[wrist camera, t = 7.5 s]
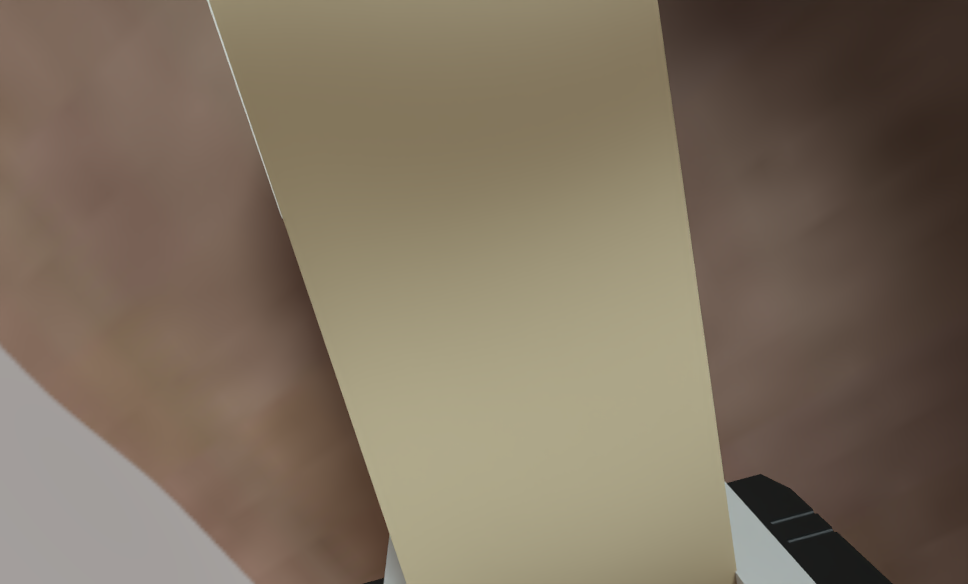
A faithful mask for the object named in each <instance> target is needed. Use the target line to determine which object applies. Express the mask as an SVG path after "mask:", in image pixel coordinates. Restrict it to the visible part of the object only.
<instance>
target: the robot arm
mask: <svg viewBox="0 0 968 584" xmlns="http://www.w3.org/2000/svg"><path fill="white" fill-rule="evenodd" d="M724 482H725V481H724ZM725 489H726V497H727V504H728V511H729V518H730V525H731V533H732V540H733V547H734V554H735V561H736V569H737V571H736V572H735V573H736V581H737V584H892V583H891V582H890V581H889V580H888V579H887V578H886V577H885V576H884V575H883V574H881V573H880V572H879V571H878V570H877V569H876V568H875V567H874V566H873V565H872V564H871V563H870V562H869V561H868V560H866V559H865V558H864V557H863V556H862V555H861V554H860V553H859V552H858V551H857V550H856V549H855V548H854V547H853V546H851V545H850V544H849V543H848V542H847V541H846V540H845V539H844V538H843V537H842V536H841V535H840V534H839V533H837V532H834V531H833V530H832V527H831V526H830V525H829V524H828V523H827V522H826V521H825V520H824V519H822V518H821V517H820V516H819V515H818V514H815V513H814V512H813V509H812V508H811V507H810V506H809V505H807V504H806V503H805V502H804V501H803V500H802V499H801V498H800V497H799V496H798V495H797V494H796V493H795V492H794V491H792V490H791V489H790V488H788V487H786V486H784V485H782V484H780V483H778V482H776V481H774V480H772V479H770V478H768V477H766V476H763V475H761V474H759V475H756V476H752V477H748V478H744V479H741V480H737V481H733V482H730V483H726V482H725ZM364 584H406V581H405V578H404V575H403V572H402V569H401V566H400V563H399V560H398V557H397V554H396V551H395V548H394V545H393V542H392V540H391V537H390V535H389V543H388V552H387V560H386V569H385V577H384V578H382V579H379V580H375V581H371V582H368V583H364Z"/></svg>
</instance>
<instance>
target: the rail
mask: <svg viewBox="0 0 968 584" xmlns="http://www.w3.org/2000/svg"><path fill="white" fill-rule="evenodd" d="M209 2H210V5H211V8H212V11H213V14H214V17H215V20H216V23H217V26H218V29H219V31H220V34H221V37H222V40H223V43H224V46H225V49H226V52H227V55H228V58H229V61H230V64H231V67H232V70H233V73H234V76H235V79H236V82H237V85H238V88H239V91H240V93H241V96H242V99H243V102H244V105H245V108H246V111H247V114H248V117H249V120H250V123H251V126H252V129H253V132H254V135H255V138H256V141H257V144H258V147H259V150H260V153H261V156H262V158H263V161H264V164H265V167H266V170H267V173H268V176H269V179H270V182H271V185H272V188H273V191H274V194H275V197H276V200H277V203H278V206H279V209H280V212H281V215H282V218H283V221H284V223H285V226H286V229H287V232H288V235H289V238H290V241H291V244H292V247H293V250H294V253H295V256H296V259H297V262H298V265H299V268H300V271H301V274H302V277H303V280H304V283H305V285H306V288H307V291H308V294H309V297H310V300H311V303H312V306H313V309H314V312H315V315H316V318H317V321H318V324H319V327H320V330H321V333H322V336H323V339H324V342H325V345H326V348H327V350H328V353H329V356H330V359H331V362H332V365H333V368H334V371H335V374H336V377H337V380H338V383H339V386H340V389H341V392H342V395H343V398H344V401H345V404H346V407H347V410H348V413H349V415H350V418H351V421H352V424H353V427H354V430H355V433H356V436H357V439H358V442H359V445H360V448H361V451H362V454H363V457H364V460H365V463H366V466H367V469H368V472H369V475H370V477H371V480H372V483H373V486H374V489H375V492H376V495H377V498H378V501H379V504H380V507H381V510H382V513H383V516H384V519H385V522H386V525H387V528H388V531H389V534H390V537H391V540H392V542H393V545H394V548H395V551H396V554H397V557H398V560H399V563H400V566H401V569H402V572H403V575H404V578H405V581H406V584H737V581H736V573H735V572H736V571H737V569H736V561H735V554H734V547H733V540H732V533H731V525H730V518H729V511H728V504H727V497H726V489H725V482H724V475H723V468H722V461H721V453H720V446H719V439H718V432H717V425H716V417H715V410H714V403H713V396H712V389H711V381H710V374H709V367H708V360H707V353H706V345H705V338H704V331H703V324H702V317H701V309H700V302H699V295H698V288H697V281H696V273H695V266H694V259H693V252H692V245H691V237H690V230H689V223H688V216H687V209H686V201H685V194H684V187H683V180H682V173H681V165H680V158H679V151H678V144H677V137H676V129H675V122H674V115H673V108H672V101H671V93H670V86H669V79H668V72H667V65H666V57H665V50H664V43H663V36H662V29H661V21H660V14H659V7H658V0H209Z"/></svg>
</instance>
